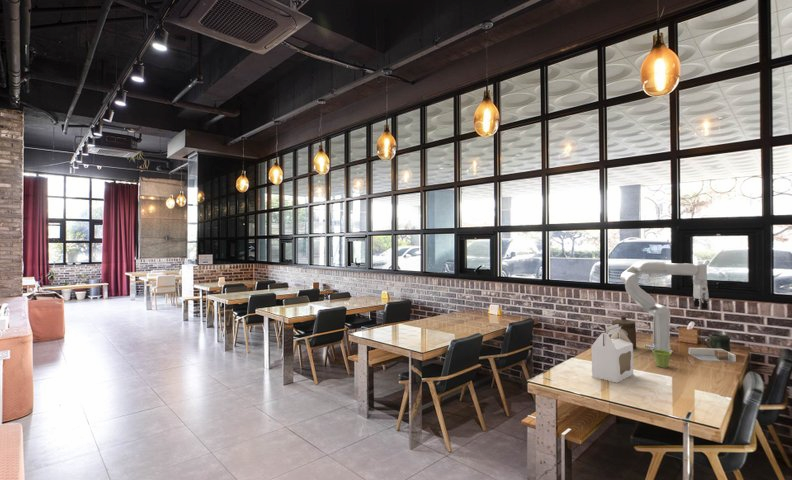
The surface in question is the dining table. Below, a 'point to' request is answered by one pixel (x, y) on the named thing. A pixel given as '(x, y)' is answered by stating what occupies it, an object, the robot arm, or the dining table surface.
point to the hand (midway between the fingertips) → (700, 307)
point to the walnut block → (721, 354)
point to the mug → (718, 342)
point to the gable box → (612, 355)
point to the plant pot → (662, 358)
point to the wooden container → (627, 329)
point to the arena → (709, 354)
